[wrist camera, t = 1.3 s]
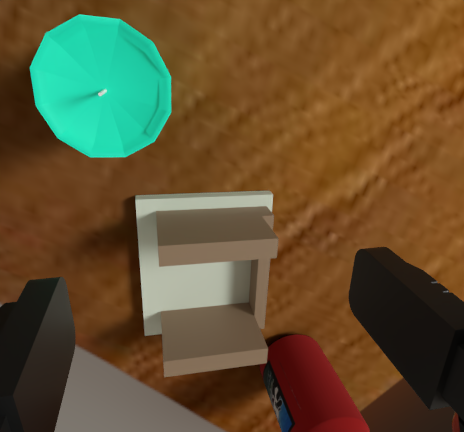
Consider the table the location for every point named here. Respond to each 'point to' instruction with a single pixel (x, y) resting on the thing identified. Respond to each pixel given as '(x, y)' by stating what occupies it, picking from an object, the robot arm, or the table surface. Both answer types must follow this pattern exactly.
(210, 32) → the table surface
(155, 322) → the holder
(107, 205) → the table surface
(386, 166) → the table surface
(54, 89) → the candle
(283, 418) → the beverage can
